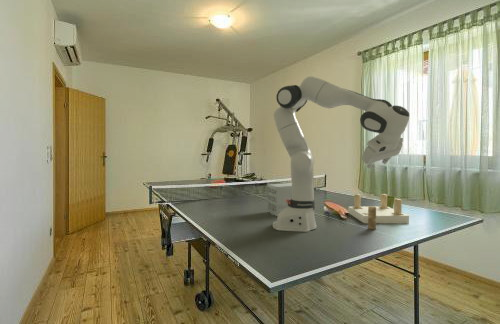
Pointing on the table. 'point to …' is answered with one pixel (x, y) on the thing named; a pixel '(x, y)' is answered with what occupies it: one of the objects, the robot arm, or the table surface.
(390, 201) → the plant pot
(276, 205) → the supplement box
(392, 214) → the stool seat
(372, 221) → the stool leg
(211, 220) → the table surface
